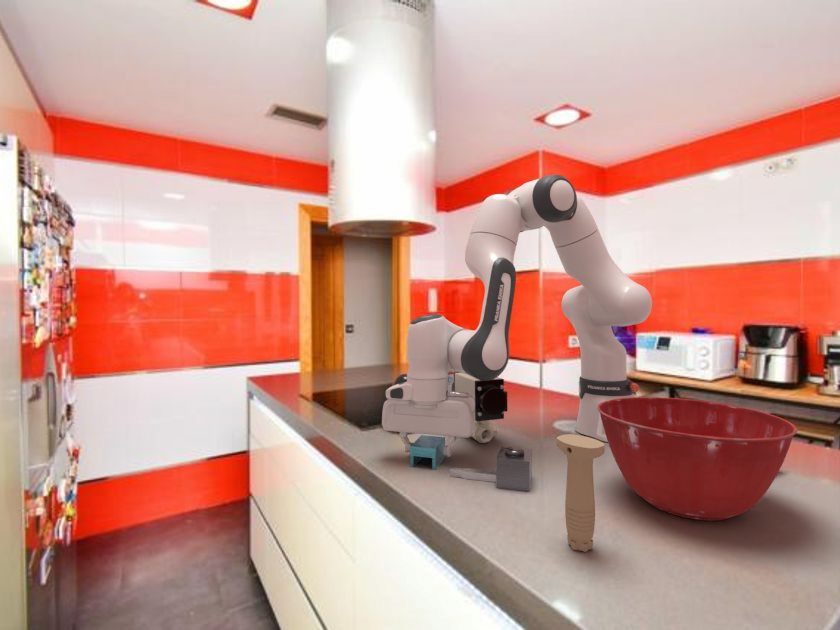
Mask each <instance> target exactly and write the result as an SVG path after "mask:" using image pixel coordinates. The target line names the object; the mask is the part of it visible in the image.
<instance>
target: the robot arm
mask: <svg viewBox="0 0 840 630" xmlns="http://www.w3.org/2000/svg"><path fill="white" fill-rule="evenodd" d="M576 192H577V191H576V189H575V187H574V186H573V184H572V182H571V181H570V180H569V179H568V178H567V177H566V176H564V175H561V174H549V175H544V176H542V177H540V178H537V179H533V180H531V181H528V182H525V183H523V184H522V185H521V186H518V187H517V188H515V189H514V190H511V191H508V192H507V193H505V194H503V193H502V194H501V193H497V194H496V193H495V194H492V195H490V196H488V197H486V198H485V200H483V201H482V203H481V205H480V207H479V210H478V211H477V214H476V216H475V218H474V221H473V224H472V226H471V229H470V232H469V236H468V238H467V243H466V247H465V251H464V252H465V254H464V261H465V264H466V267H467V268H468V270H469V271H470V272H471V274H472V275H473V276H474V277H476V278H478V279H479V280H481V282H482V283H483V286H484V297H483V301H482V307H481V314H480V320H479V324H478V326H477V328H476V329H475V330H473V329H466V328H465V327H461V326H458V325H457V324H456V323H455V324H454V323H453V322H451V321H449V320H448V319H446V317H445V316H444V315H442V314H438V313H437V314H436V313H434V314H427V315H422V316H419V317H418V316H417V317H415V318H414V319H413V320H411V321H410V323H409V325H408V330H407V335H406V337H407V338H406V358H407V362H408V369H407V373H406V374H407V382H402V383H400V384H397V385H394V386H392V385H391V386H390V387H389V388H387V389H386V390H385V398H386V400H385V401H384V402H383V405H382V406H383V407H382V411H381V413H382V415H381V426H382V427H383V429H384V430H385V431H388V432H396V433H397V432H399V438H400V439H401V441H402V442H403V444H404V451H405V453H410V446H411V445H412V444H413V443H414V442H411V441H410V439H409V437H408V436H409V434H410V433H411V434H421V435H430V436H432V435H433V436H442V437H446V436H447V441H448V442H449V443H448V445H445V446H444V447H443V456H445V457H451V455H452V447H453V446H454V443H455V442H456V440H457V438H467V439H468V438H471V435H472V434H473V433H474V431H475V422H474V414H473V412H474V411H475V399H474V397H473V396H472V395H470V394H468V393H467V392H455V391H448V372H449V371H450V370H455V371H458V372H460V373H464V374H468V375H470V376H472V377H474V378H476V379H479V380H482V381H489V380H492V379H495V378H496V377H498V378H499V376H500V375H501V374H503V372H504V371H505V370H506V367H507V366H508V363H509V360H510V359H509V358H510V342H509V341H510V337H509V335H510V327H511V326H510V325H511V321H512V320H511V318H512V312H513V305H514V299H515V292H516V291H515V290H516V283H517V282H516V281H517V273H516V272H517V271H516V267H515V265H514V259H515V253H516V249H517V245H518V242H519V241H518V240H519V236H520V234H521V233H523V232H527V231H532V230H538V229H541V228H542V227H545V229H547V230H548V232H549V234H550V235H549V236H550V237H551V240H552V243H553V245H554V248H555V250H556V253H557V255H558V257H559V259H560V262H561V265H562V266H563V269H564V271H565V273H566V274H567V276H569V277H571V278H572V279H574V280H576V281H577V282H578V283H580V285H579V286H575V287H572V288H570V289H568V290H567V291H566V292H565V293H564V295H563V296H562V300H561V311H562V313H563V315H564V316H565V317H566V319H568V321H569V322H570V323H571V325H572V327H573V329H574V331H575V334H576V337H577V340H578V345H579V350H580V376H579V381H578V396H579V408H578V414H577V419H576V422H575V425H574V430H575V431H576V432H577V433H579V434H582V435H583V436H584V435H585V436H586V437H590V438H593V439H596V440H599V441H601V442H607V443H608V440H607V437H606V434H605V430H604V427H603V424H602V420H601V415H600V412H599V411H598V409H597V406H598V405H599V404H600V403H602V402H604V401H607V400H612V399H618V398H629V397H639V396H637V395H636V394H635V393H637V392H638V391H640V386H639V385H638V383H636V382H635V381H631V380H630V379H628V378H627V349H626V347H625V346H624V344H622V343H621V342H620V341H619V340H618V339H617V338H616V335H615V334H614V332H613V328H612V327H628V326H632V325H633V326H634V325H640V324H641V323H643V322H645V321H646V320H647V319H648V317H649V316H650V314H651V312H652V307H653V300H652V299H653V298H652V296H651V294H650V292H649V290H648V289H647V288H646V287H644V286H643V285H641V284H639V283H637V282H635V280H632V278H630V277H628V276H627V274H626V273H624V272H623V270H622V269H621V268H620V267H619V266H618V264H616V263H615V261H614V259H613V258H612V257H611V255H610V253H609V251H608V248H607V247H606V244H605V242H604V240H603V237H602V236H601V232H600V230H599V227H598V225H597V223H596V221H595V220H596V219H595V218H594V217H593V214H592V213H591V211H590V209H589V207H588V206H587V204H586V203H585V202H584V200H583V199H582V197H581V196H580V195H578V194H577V193H576ZM468 396H470V397H468Z"/></svg>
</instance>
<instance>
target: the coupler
mask: <svg viewBox="0 0 840 630" xmlns="http://www.w3.org/2000/svg"><path fill="white" fill-rule="evenodd" d="M495 461H496V462H495V464H496V465H495V468H496V469H495V470H486V469H479V468H478V469H477V468H468V467H467V468H466V467H465V468H461V467H460V468H459V467H451V468H450V470H449V471H450V472H449V473H450V477H453V478H454V477H455V478H462V479H466V480H474V481H482V482H483V481H484V482H489V483H490V482H493V483H495V484H496V485H495V486H496V487H495V489H503V490H511V491H521V492H527V493H528V492H531V485H532V478H533V449H531V448H523V447H518V446H507V447H506V446H501V447H500V448H499V451H498V454H497V455H496V458H495Z"/></svg>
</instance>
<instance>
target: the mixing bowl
mask: <svg viewBox="0 0 840 630" xmlns="http://www.w3.org/2000/svg"><path fill="white" fill-rule="evenodd" d="M597 409H598V411H599V412H600V415H601V420H602V424H603V427H604V430H605V434H606V437H607V440H608V442H607V443H608V446H609V448H610V451H611V454H612V456H613V458H614V460H615V462H616V465H617V467H618V469H619V471H620V472H621V474H622V477H623V478H624V480H625V481H626V483H627V484H628V486H629V487H630V488H631V489H632V491H634V492H635V493H636V494H637V495H638V496H639V497H641V498H642V499H644V501H646V503H648V504H649V505H651V506H653V507H654V508H656V509H658V510H661V511H663V512H666V513H669V514H670V515H671V514H672V515H675V516H678V517H681V518H686V519H693V520H700V521H723V520H727V519H730V518H732V517H735V516H739V515H742V514H744V513H746V512H748V511H749V510H751V509H752V508H753V507H755V506H756V505H757V504H758V503H759V501H760V500H761V499H762V498H763V497H764V495H765V494H766V493H767V491H768V490H769V489H770V487H771V486H772V484H773V482H774V481H775V480H776V478H777V475H779V473H780V472H779V471H780V470H781V467H782V466H783V464H784V462H785V459H786V457H787V454H788V451H789V448H790V447H791V444H792V443H791V442H792V440H793V437H794V436H795V435H797V433H798V428H797V427H796V425H795V424H794V423H792V422H790V421H789V420H786V419H784V418H782V417H779V416H777V415H773V414H770V413H767V412H764V411H760V410H756V409H752V408H748V407H742V406H738V405H734V404H727V403H721V402H714V401H706V400H700V399H699V400H698V399H688V398H679V397H678V398H677V397H659V396H657V397H656V396H655V397H654V396H642V397H641V396H638V397H629V398H618V399H612V400H607V401H604V402H602V403H600V404H599V405H598V406H597Z"/></svg>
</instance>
